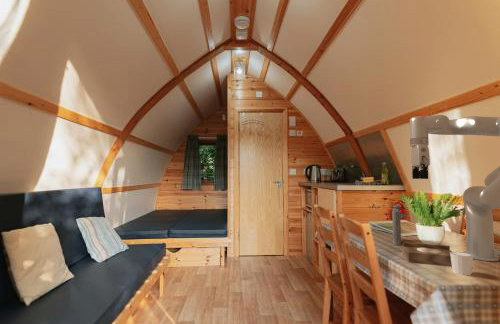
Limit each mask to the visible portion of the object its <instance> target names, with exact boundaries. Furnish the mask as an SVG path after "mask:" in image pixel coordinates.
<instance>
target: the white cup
mask: <svg viewBox="0 0 500 324" xmlns="http://www.w3.org/2000/svg"><path fill="white" fill-rule="evenodd" d="M463 252H464V251H452V252H450V256H451V263H452V266H451V269H452V272H453V273H454V274H456V273H457V274H456V275H459V274H462V275H461V276H465V275H470V276H472V275H473V264H474V263H473V261H474V259H473V255H471V254H468V253H463ZM471 274H472V275H471Z"/></svg>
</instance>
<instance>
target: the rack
mask: <svg viewBox="0 0 500 324" xmlns="http://www.w3.org/2000/svg"><path fill="white" fill-rule="evenodd" d="M450 252H453V251H452V250H451V247H450V245H445V244H444V245H443V244H432V243H417V242H404V241H403V242H402V255H403V257H404V258H405V260H406V261H407V262H408V263H413V264H414V263H415V264H425V265H433V266H434V265H436V266H446V267H452V263H451V256H450Z"/></svg>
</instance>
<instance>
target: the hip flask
mask: <svg viewBox="0 0 500 324" xmlns="http://www.w3.org/2000/svg"><path fill="white" fill-rule="evenodd" d="M392 207H393V208H392V211H391V214H392V215H391V216H392V245H394V246H400V245H401V244H402V235H401V234H402V233H401V232H402V230H401V229H402V228H401V227H402V226H401V205H392Z"/></svg>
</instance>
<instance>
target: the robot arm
mask: <svg viewBox="0 0 500 324" xmlns="http://www.w3.org/2000/svg"><path fill="white" fill-rule="evenodd" d="M429 135H439V136H440V135H441V136H443V135H444V136H486V137H487V136H488V137H500V116H476V115H475V116H474V115H473V116H466V117H465V116H464V117H461V118H455V119H450V118H449V117H448V116H447V115H444V114H435V115H427V116H424V115H418V116H413V117H410V119H409V144H410V145H409V146H410V147H411V153H410V154H411V159H410V161H411V171H412V172H411V175H412V176H411V177H412V180H428V179H429V166H430V165H431V157H430V148H429V142H430V138H429ZM483 182H484V185H485V186H482V185H481V186H480V185H474V186H473V185H472V186H470V187H467V188H466V189H465V190H464V191H463V194H462V202H463V206H464V213H465V233H466V234H465V237H466V239H465V240H466V250H465V251H464V250H463V251H462V252H463V253H468V254H471V255H473V260H476V261H477V260H478V261H483V262H484V261H485V262H498V261H500V249H497V248H495V238H494V237H495V236H494V235H495V234H494V217H493V212H492V211H493V210H497V209H500V165H499V166H498V167H496V168H495V169H493V170H492V171H491V172H489V174H488V175H486V177H485V178H484V181H483Z"/></svg>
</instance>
